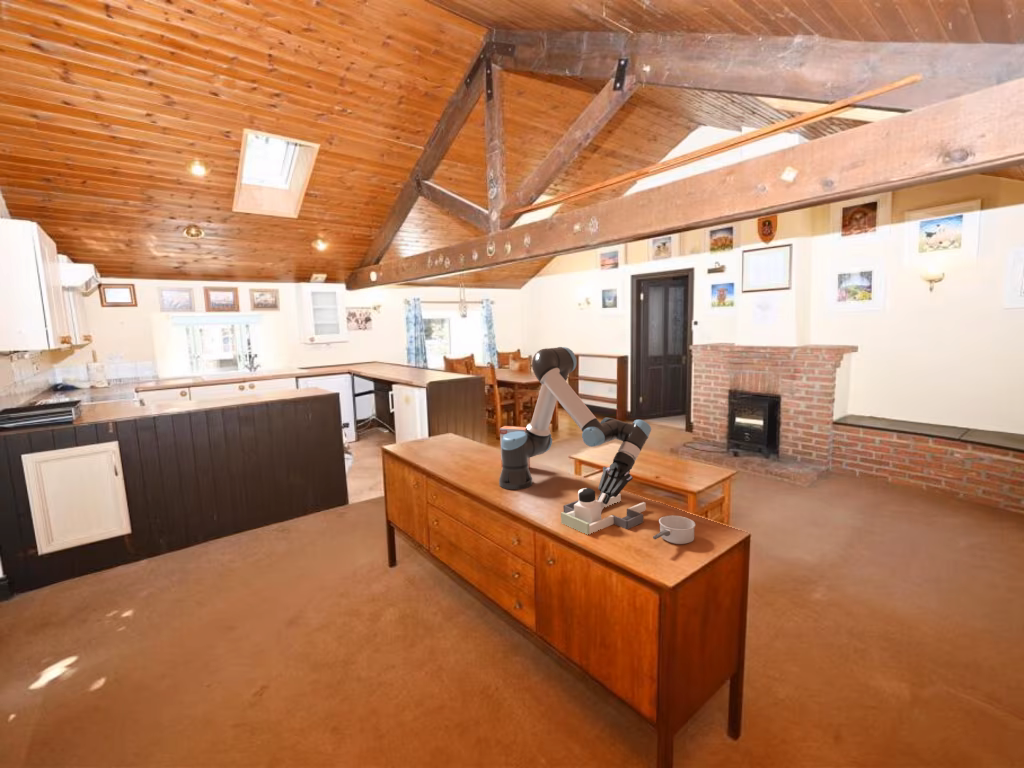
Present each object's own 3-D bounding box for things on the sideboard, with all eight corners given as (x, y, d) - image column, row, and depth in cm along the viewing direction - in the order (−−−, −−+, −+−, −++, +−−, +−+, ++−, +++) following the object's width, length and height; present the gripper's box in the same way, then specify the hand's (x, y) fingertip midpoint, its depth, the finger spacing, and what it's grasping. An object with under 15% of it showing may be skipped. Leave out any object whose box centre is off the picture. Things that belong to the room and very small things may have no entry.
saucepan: (638, 547, 147) (638, 531, 146) (669, 527, 160) (669, 512, 159) (671, 560, 138) (671, 542, 137) (701, 538, 152) (701, 521, 151)
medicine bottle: (601, 519, 167) (600, 488, 165) (591, 527, 162) (589, 496, 160) (584, 514, 172) (582, 484, 170) (574, 522, 167) (572, 492, 164)
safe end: (563, 522, 167) (562, 511, 167) (589, 534, 157) (589, 523, 156) (561, 523, 167) (560, 512, 166) (587, 535, 156) (587, 524, 156)
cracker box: (530, 467, 235) (529, 427, 232) (525, 470, 229) (524, 429, 227) (506, 464, 241) (504, 425, 239) (500, 467, 236) (499, 427, 233)
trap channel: (607, 496, 190) (607, 489, 190) (659, 514, 171) (659, 507, 170) (551, 517, 172) (551, 509, 172) (602, 540, 152) (602, 531, 152)
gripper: (645, 465, 172) (616, 520, 164) (617, 458, 182) (589, 509, 175) (636, 454, 168) (606, 510, 160) (608, 447, 179) (579, 500, 171)
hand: (597, 510), depth 167 cm, fingers closed
